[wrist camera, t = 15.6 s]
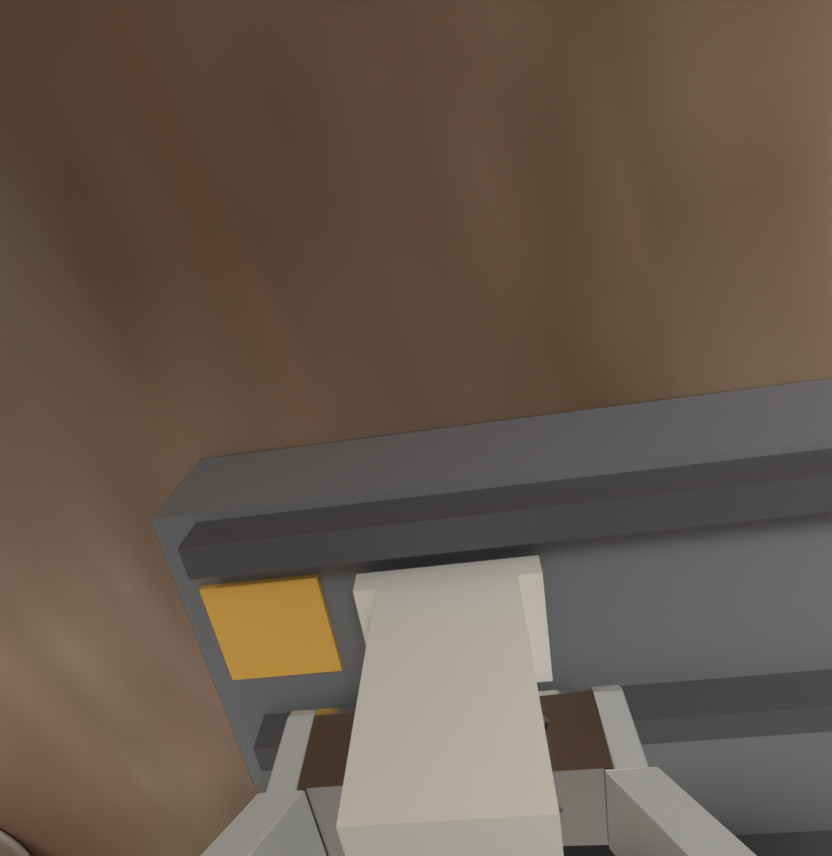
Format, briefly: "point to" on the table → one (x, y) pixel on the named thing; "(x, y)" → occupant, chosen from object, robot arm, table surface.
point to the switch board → (556, 578)
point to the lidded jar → (11, 846)
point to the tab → (451, 715)
